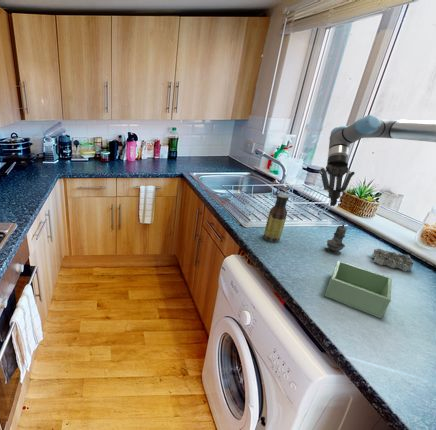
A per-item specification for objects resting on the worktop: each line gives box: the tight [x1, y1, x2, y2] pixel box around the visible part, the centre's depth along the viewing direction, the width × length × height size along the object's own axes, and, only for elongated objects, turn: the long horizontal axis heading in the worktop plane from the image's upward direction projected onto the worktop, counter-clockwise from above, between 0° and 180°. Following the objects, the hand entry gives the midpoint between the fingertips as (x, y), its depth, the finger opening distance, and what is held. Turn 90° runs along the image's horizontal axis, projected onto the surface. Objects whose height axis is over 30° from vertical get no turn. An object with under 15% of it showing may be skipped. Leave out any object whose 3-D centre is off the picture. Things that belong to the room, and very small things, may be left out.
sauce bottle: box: [263, 193, 289, 243], centre depth 117 cm, size 6×6×20 cm
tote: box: [323, 260, 393, 319], centre depth 88 cm, size 14×14×7 cm
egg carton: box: [371, 248, 415, 272], centre depth 105 cm, size 11×8×4 cm
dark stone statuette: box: [324, 223, 348, 256], centre depth 111 cm, size 6×6×12 cm
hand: (333, 204), depth 123 cm, fingers closed
